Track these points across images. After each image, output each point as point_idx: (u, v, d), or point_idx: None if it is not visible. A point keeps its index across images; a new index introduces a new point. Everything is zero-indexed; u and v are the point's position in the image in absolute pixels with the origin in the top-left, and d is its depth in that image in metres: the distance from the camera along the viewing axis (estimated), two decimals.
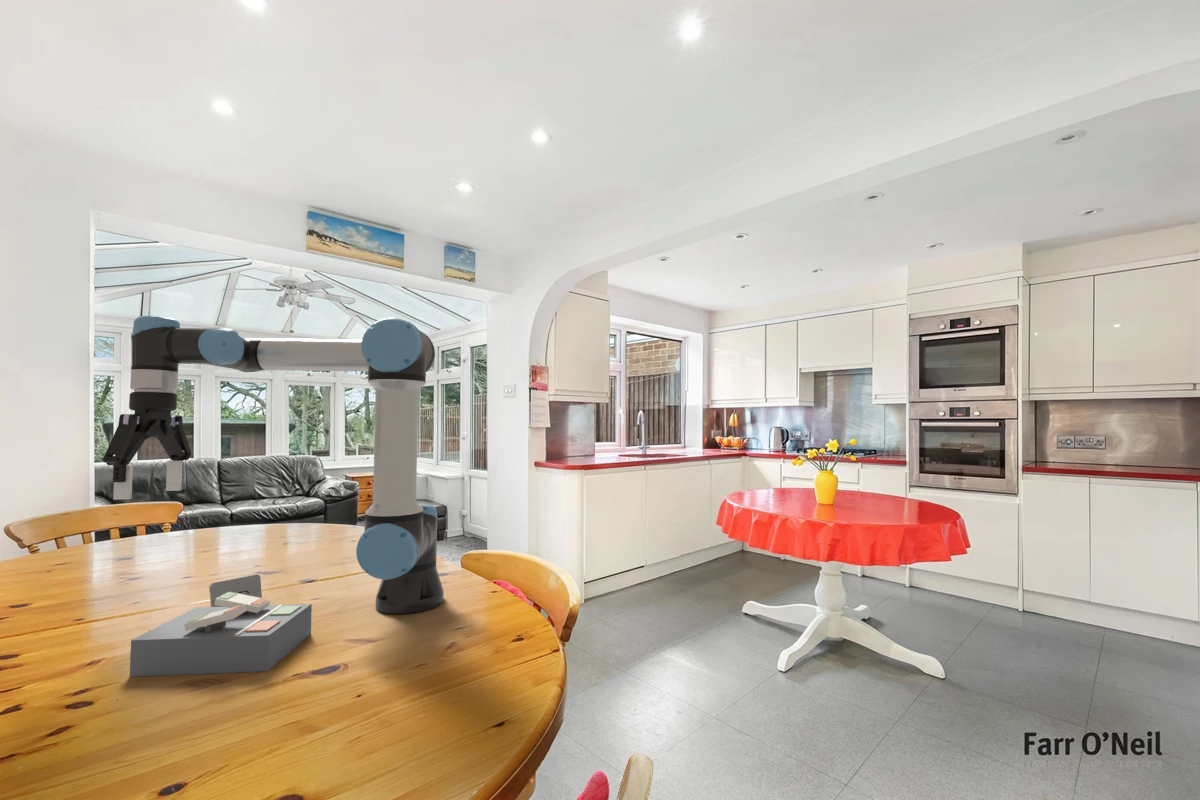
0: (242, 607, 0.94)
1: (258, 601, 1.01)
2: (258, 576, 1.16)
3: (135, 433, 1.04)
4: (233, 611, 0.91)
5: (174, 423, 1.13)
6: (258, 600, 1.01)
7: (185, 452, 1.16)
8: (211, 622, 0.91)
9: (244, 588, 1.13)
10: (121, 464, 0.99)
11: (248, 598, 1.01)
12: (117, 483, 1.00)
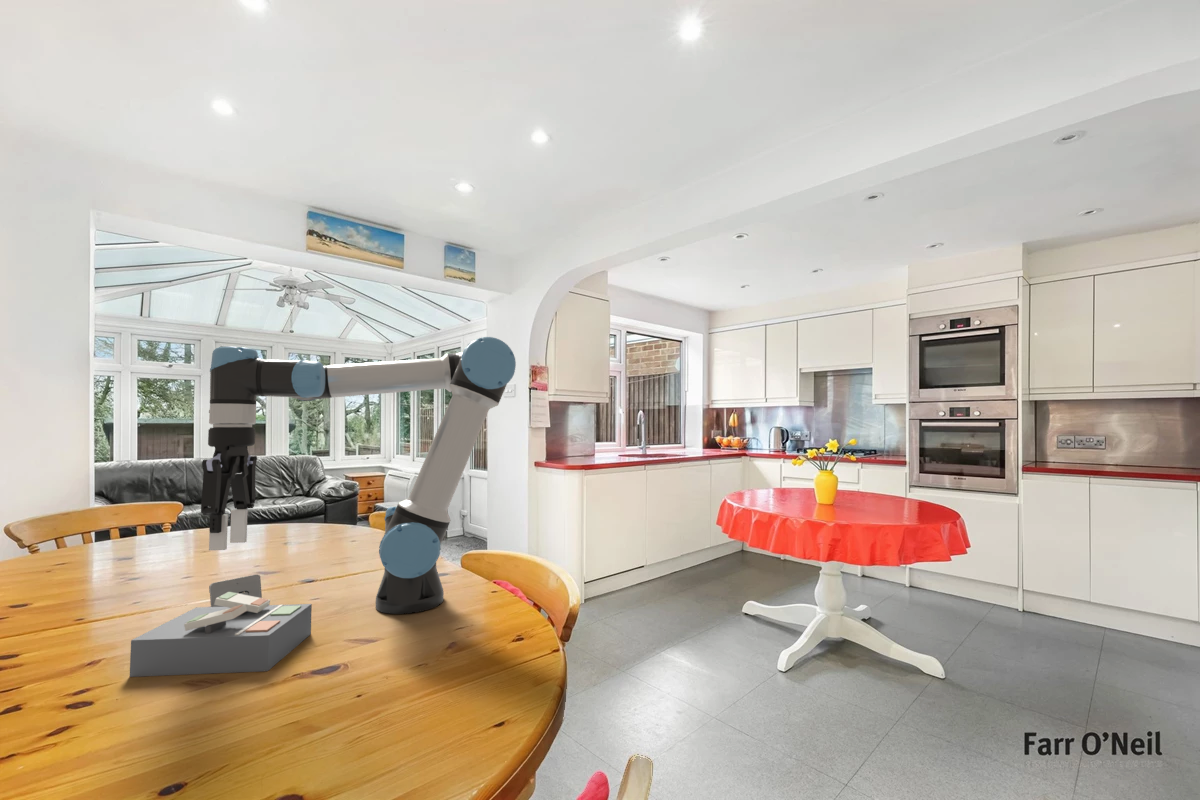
0: (242, 607, 0.94)
1: (258, 601, 1.01)
2: (258, 576, 1.16)
3: None
4: (233, 611, 0.91)
5: (248, 462, 1.06)
6: (258, 600, 1.01)
7: (250, 497, 1.07)
8: (211, 622, 0.91)
9: (244, 588, 1.13)
10: (218, 514, 0.97)
11: (248, 598, 1.01)
12: (213, 533, 0.97)
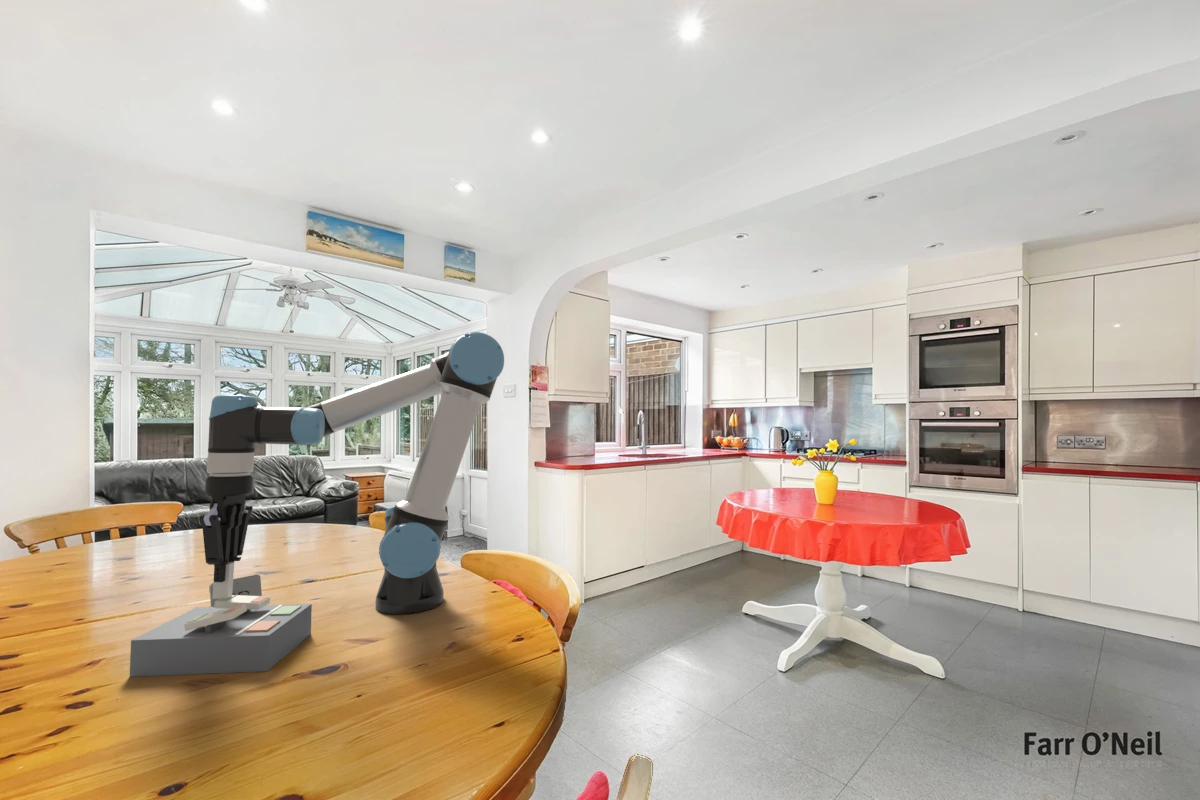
0: (242, 607, 0.94)
1: (258, 598, 1.01)
2: (258, 576, 1.16)
3: None
4: (233, 611, 0.91)
5: (244, 511, 1.05)
6: (258, 598, 1.01)
7: (238, 548, 1.03)
8: (211, 622, 0.91)
9: (244, 588, 1.13)
10: (222, 564, 0.99)
11: (247, 597, 1.01)
12: (216, 582, 1.00)
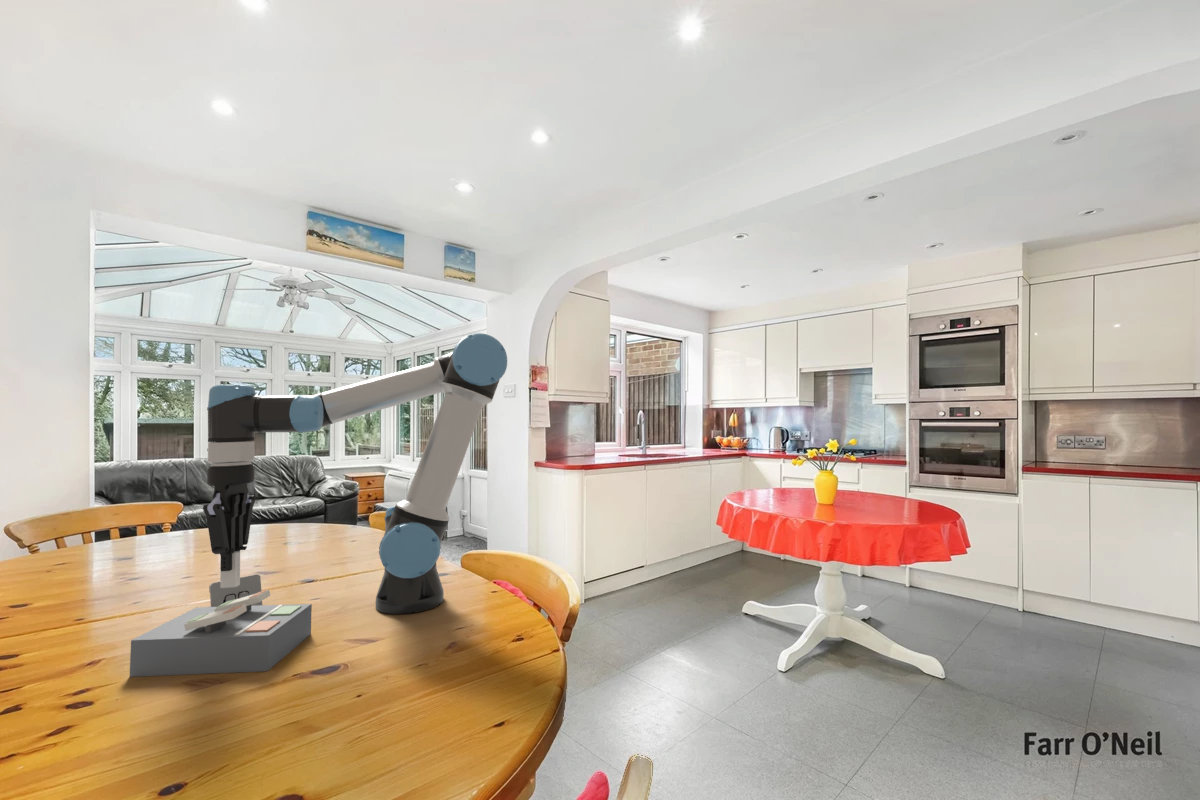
0: (242, 607, 0.94)
1: (256, 594, 1.01)
2: (258, 576, 1.16)
3: None
4: (233, 611, 0.91)
5: (247, 500, 1.06)
6: (256, 593, 1.01)
7: (243, 537, 1.04)
8: (211, 622, 0.91)
9: (244, 588, 1.13)
10: (228, 553, 0.99)
11: (246, 597, 1.01)
12: (224, 571, 1.00)
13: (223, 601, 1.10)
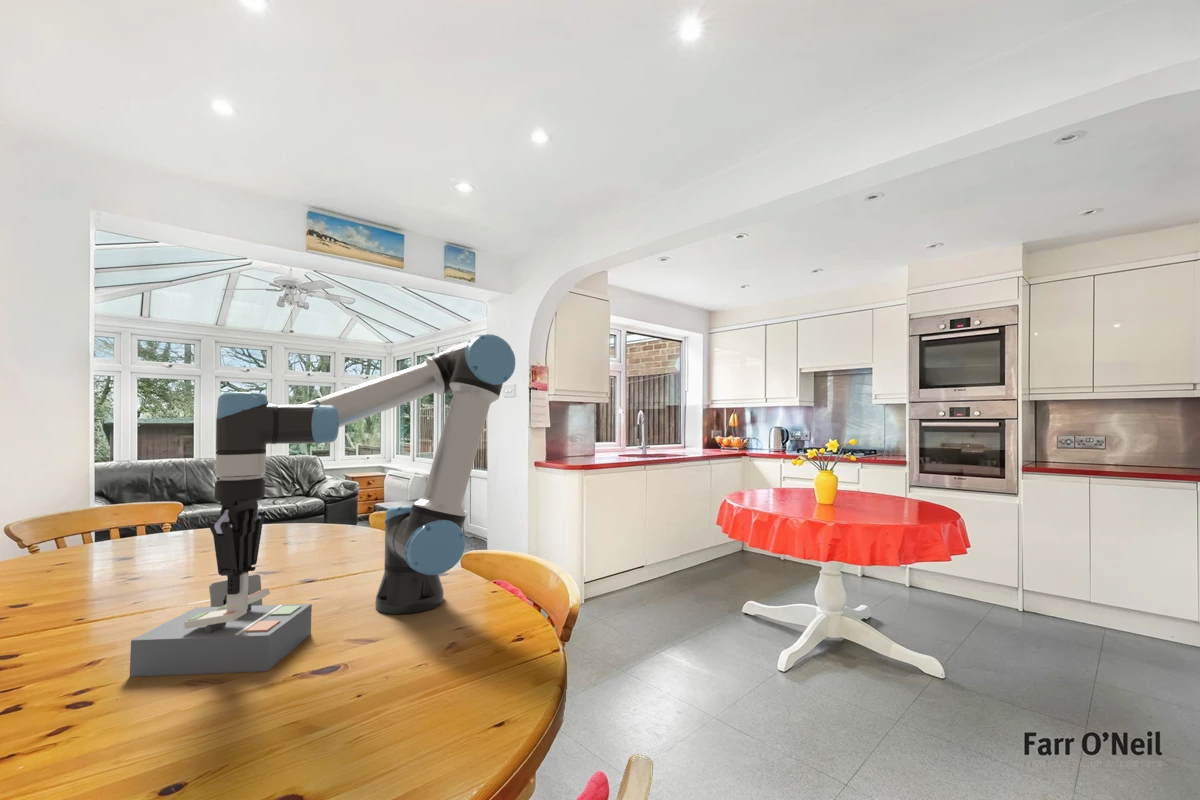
0: None
1: None
2: (258, 576, 1.16)
3: None
4: (234, 613, 0.91)
5: (256, 517, 0.98)
6: None
7: (252, 557, 0.96)
8: (211, 622, 0.91)
9: None
10: (236, 575, 0.91)
11: None
12: (230, 594, 0.92)
13: (223, 601, 1.10)
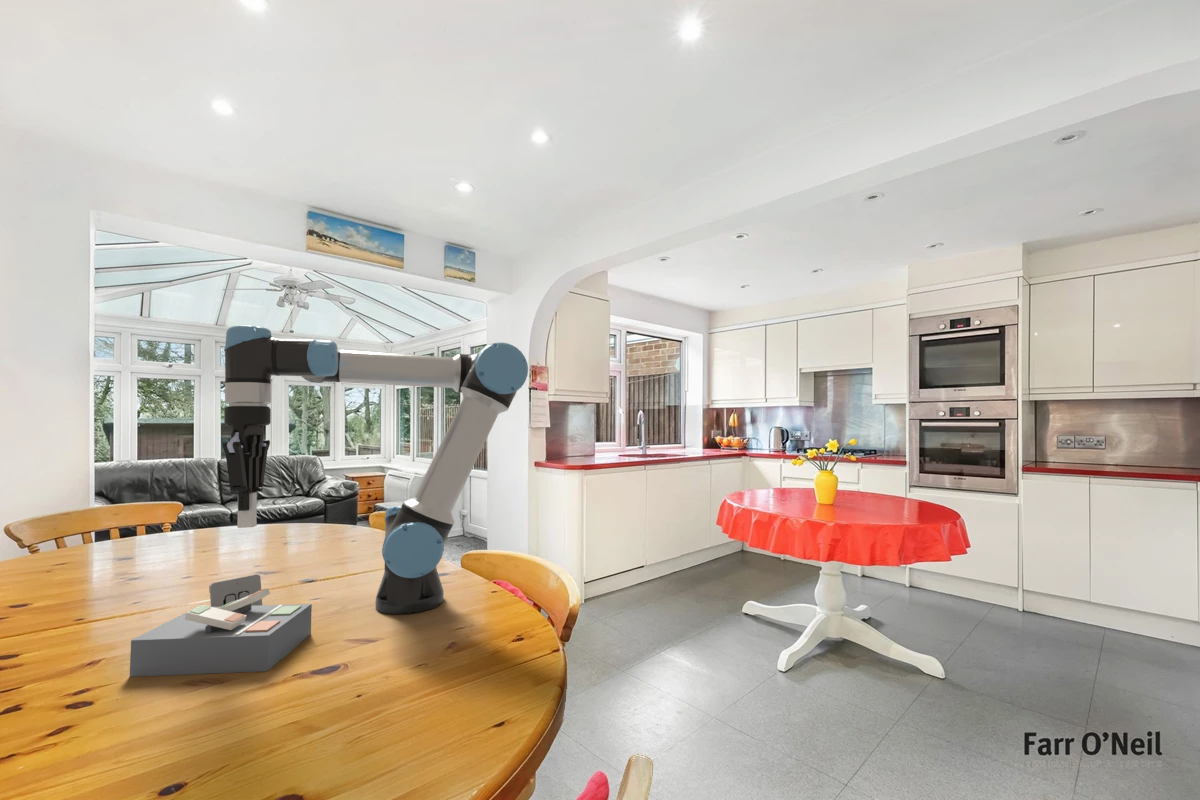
0: (242, 618, 0.94)
1: None
2: (258, 576, 1.16)
3: None
4: (234, 622, 0.91)
5: (262, 444, 1.06)
6: None
7: (259, 480, 1.04)
8: (210, 623, 0.91)
9: (244, 588, 1.13)
10: (246, 492, 1.00)
11: (246, 597, 1.01)
12: (241, 511, 1.00)
13: (223, 601, 1.10)
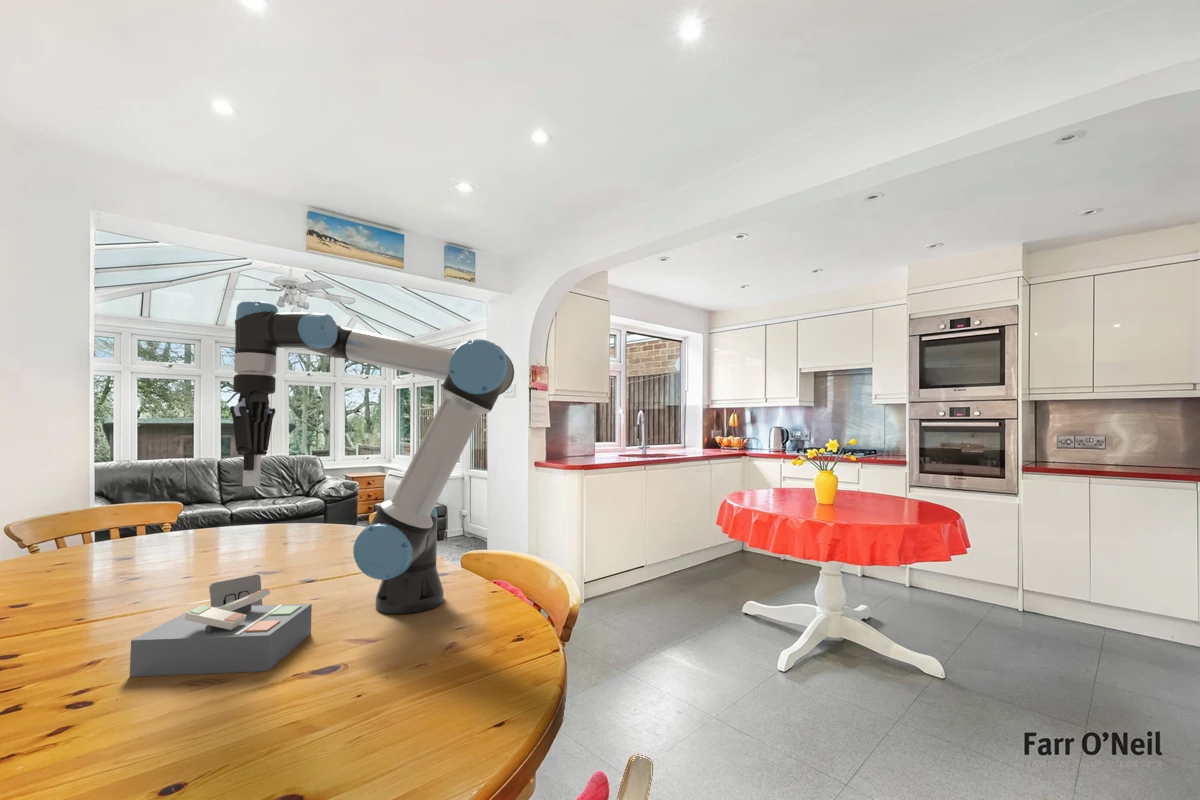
0: (242, 618, 0.94)
1: None
2: (258, 576, 1.16)
3: None
4: (234, 622, 0.91)
5: (267, 411, 1.15)
6: None
7: (264, 444, 1.13)
8: (210, 623, 0.91)
9: (244, 588, 1.13)
10: (251, 454, 1.09)
11: (246, 597, 1.01)
12: (246, 471, 1.10)
13: (223, 601, 1.10)
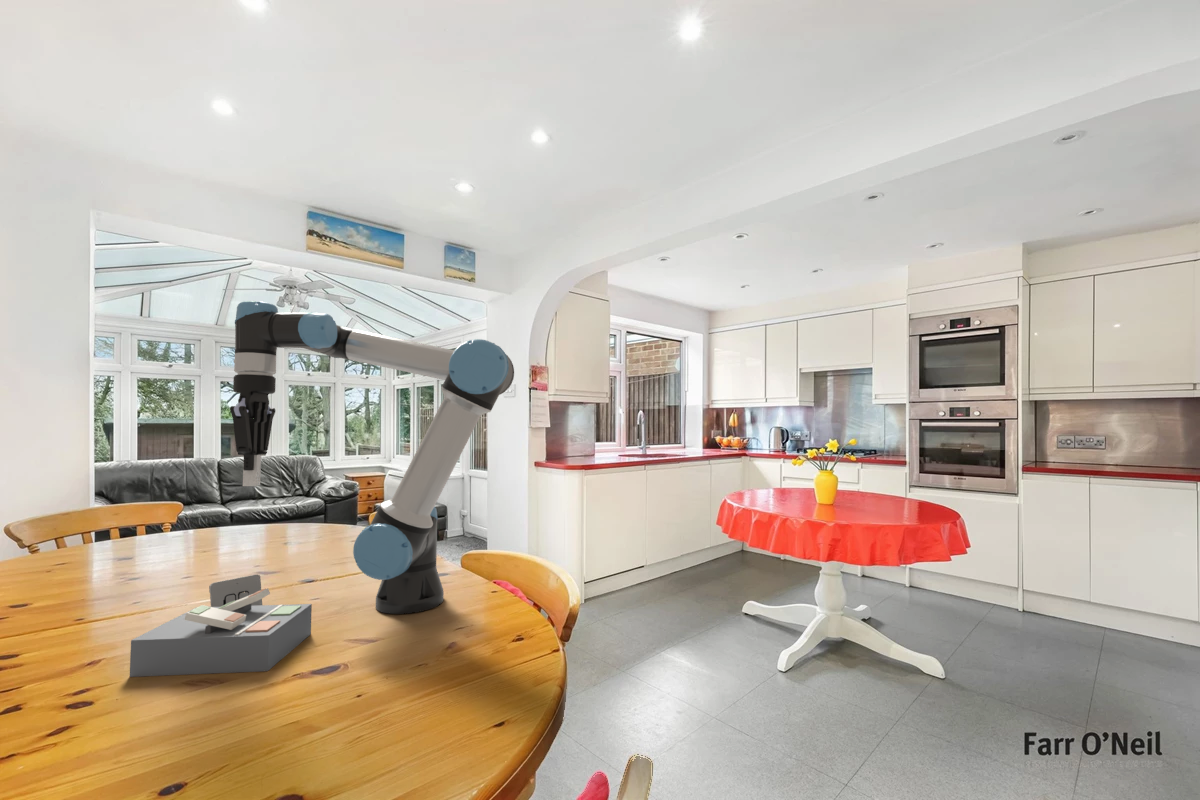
0: (242, 618, 0.94)
1: None
2: (258, 576, 1.16)
3: None
4: (234, 622, 0.91)
5: (267, 411, 1.15)
6: None
7: (264, 444, 1.13)
8: (210, 623, 0.91)
9: (244, 588, 1.13)
10: (251, 454, 1.09)
11: (246, 597, 1.01)
12: (246, 471, 1.10)
13: (223, 601, 1.10)
